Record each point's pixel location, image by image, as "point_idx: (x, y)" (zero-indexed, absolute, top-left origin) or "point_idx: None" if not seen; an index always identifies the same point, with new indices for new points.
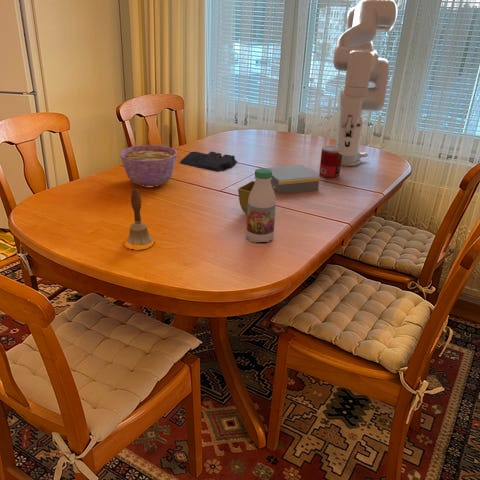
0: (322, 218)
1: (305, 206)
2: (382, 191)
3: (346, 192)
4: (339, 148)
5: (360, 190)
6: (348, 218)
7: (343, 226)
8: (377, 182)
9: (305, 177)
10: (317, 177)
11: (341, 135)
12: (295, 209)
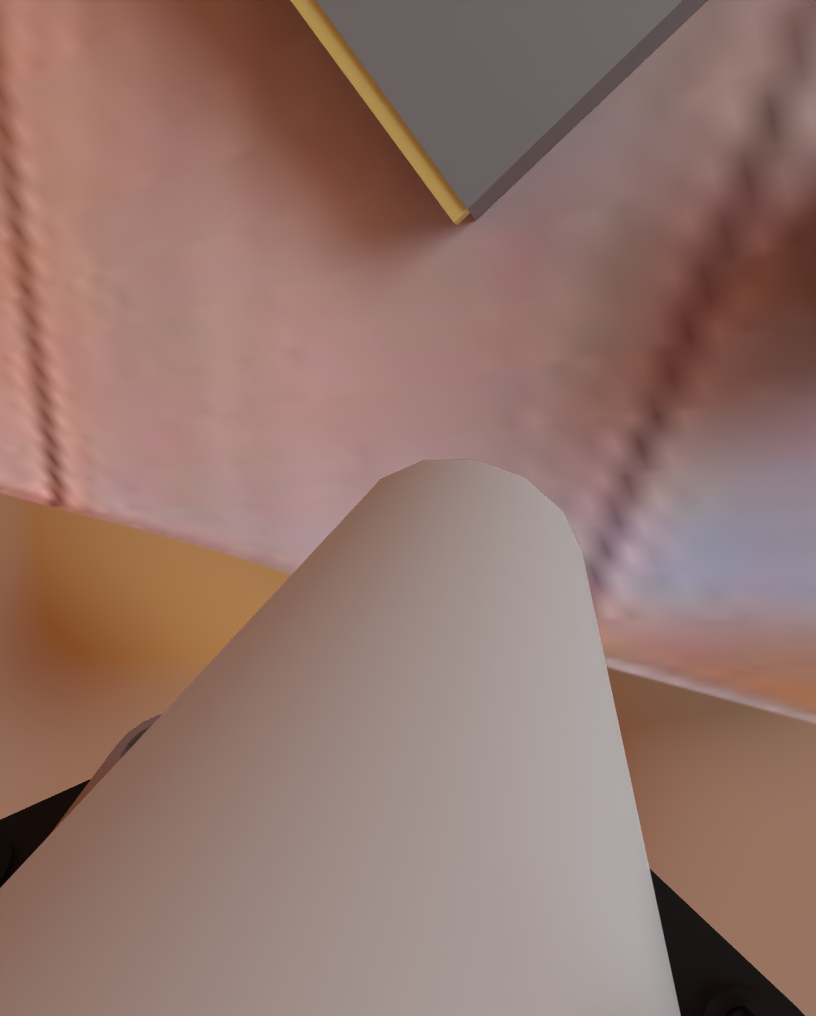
0: (24, 367)
1: (109, 216)
2: (607, 652)
3: (502, 448)
4: (386, 494)
5: (580, 532)
6: (114, 496)
7: (16, 482)
8: (799, 631)
9: (372, 49)
10: (448, 190)
11: (208, 664)
12: (22, 158)
